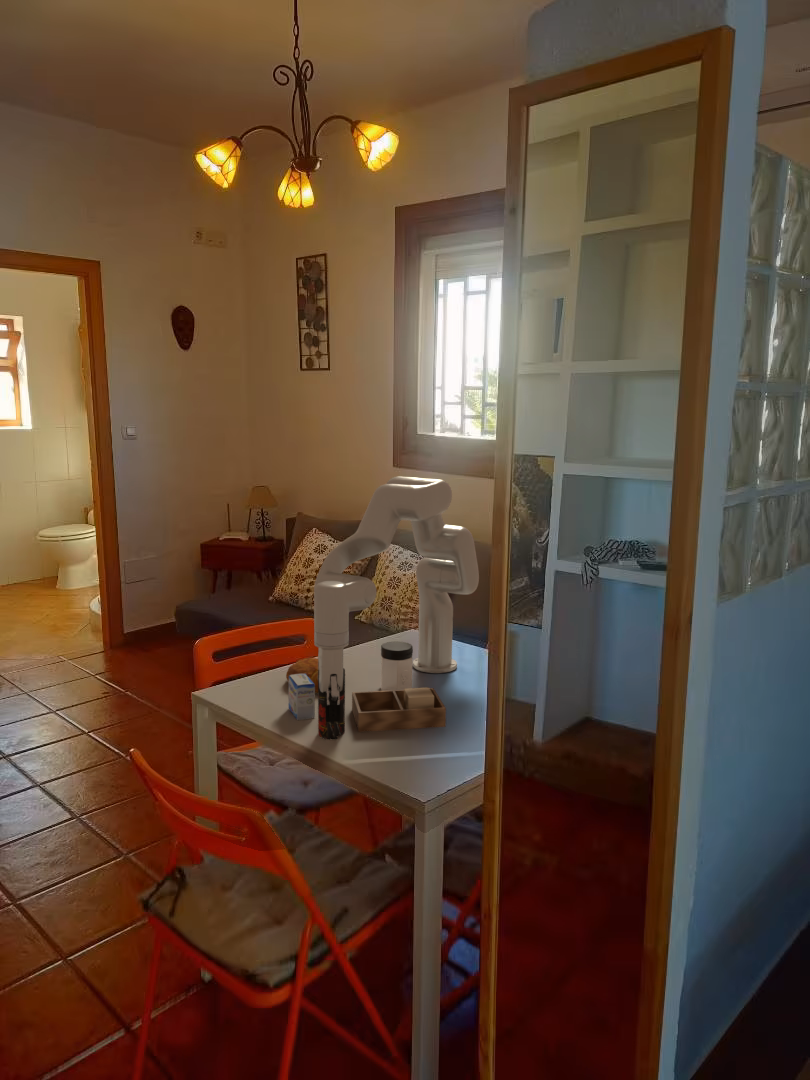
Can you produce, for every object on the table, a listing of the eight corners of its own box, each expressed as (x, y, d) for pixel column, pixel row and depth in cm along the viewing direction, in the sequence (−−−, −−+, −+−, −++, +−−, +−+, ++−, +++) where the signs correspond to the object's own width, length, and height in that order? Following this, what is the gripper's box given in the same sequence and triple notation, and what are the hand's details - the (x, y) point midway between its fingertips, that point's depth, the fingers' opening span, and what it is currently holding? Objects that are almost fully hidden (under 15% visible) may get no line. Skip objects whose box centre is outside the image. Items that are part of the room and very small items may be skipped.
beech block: (403, 712, 189) (404, 688, 188) (428, 711, 190) (428, 687, 189) (408, 722, 183) (408, 697, 182) (433, 720, 184) (434, 696, 183)
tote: (358, 734, 177) (358, 713, 176) (352, 712, 190) (352, 692, 189) (445, 728, 181) (445, 708, 180) (433, 707, 193) (433, 688, 193)
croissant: (305, 707, 199) (306, 678, 196) (277, 680, 211) (278, 653, 208) (354, 694, 207) (356, 666, 204) (325, 669, 219) (326, 643, 216)
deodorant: (347, 737, 175) (347, 673, 173) (320, 740, 174) (320, 675, 171) (341, 727, 181) (341, 664, 178) (316, 730, 179) (315, 666, 177)
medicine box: (288, 708, 191) (287, 674, 190) (306, 706, 193) (305, 672, 192) (297, 720, 184) (296, 685, 183) (315, 718, 186) (315, 683, 185)
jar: (390, 698, 199) (390, 652, 197) (373, 688, 206) (373, 644, 204) (419, 692, 204) (420, 647, 202) (402, 682, 211) (402, 639, 209)
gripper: (311, 627, 181) (312, 702, 184) (317, 650, 164) (317, 732, 167) (344, 626, 182) (344, 700, 185) (353, 648, 166) (352, 730, 169)
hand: (331, 714), depth 176 cm, fingers closed on deodorant, 5 cm apart
